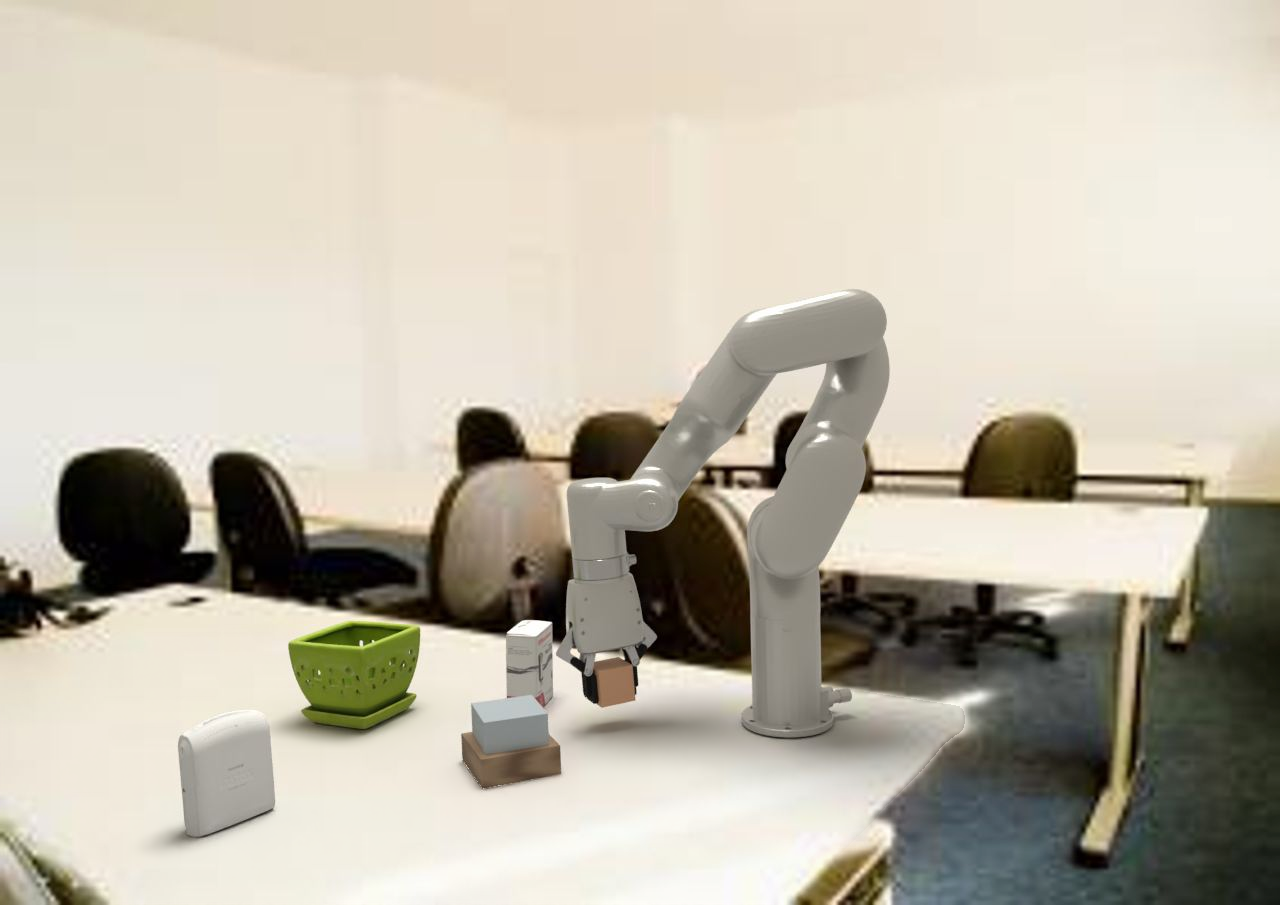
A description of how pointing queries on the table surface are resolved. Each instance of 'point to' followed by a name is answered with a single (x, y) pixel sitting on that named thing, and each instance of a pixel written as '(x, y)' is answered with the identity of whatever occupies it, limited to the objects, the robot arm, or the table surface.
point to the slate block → (509, 724)
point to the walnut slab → (510, 762)
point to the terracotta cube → (614, 681)
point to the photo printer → (226, 771)
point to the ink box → (530, 660)
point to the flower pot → (356, 672)
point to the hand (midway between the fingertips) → (611, 695)
